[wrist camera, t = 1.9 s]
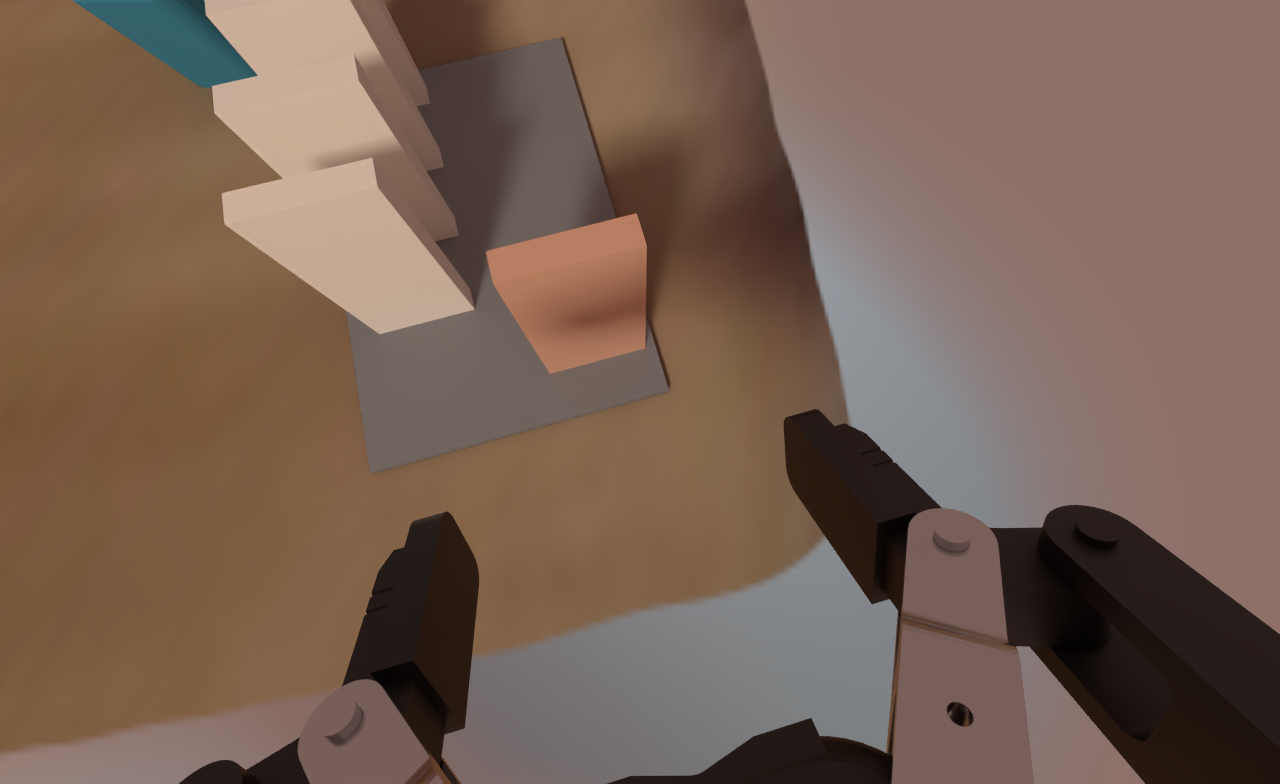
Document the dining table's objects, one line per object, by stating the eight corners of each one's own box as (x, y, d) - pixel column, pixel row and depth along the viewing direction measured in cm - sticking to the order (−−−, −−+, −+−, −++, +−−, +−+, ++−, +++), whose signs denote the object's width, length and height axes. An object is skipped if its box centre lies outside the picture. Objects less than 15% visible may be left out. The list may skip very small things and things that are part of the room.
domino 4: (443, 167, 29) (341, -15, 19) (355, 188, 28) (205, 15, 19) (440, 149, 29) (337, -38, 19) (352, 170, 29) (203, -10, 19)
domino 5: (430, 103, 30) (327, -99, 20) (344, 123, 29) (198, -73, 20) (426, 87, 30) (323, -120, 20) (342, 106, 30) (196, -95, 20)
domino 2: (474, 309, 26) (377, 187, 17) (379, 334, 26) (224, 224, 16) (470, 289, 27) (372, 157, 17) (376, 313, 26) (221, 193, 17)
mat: (668, 391, 26) (669, 389, 25) (374, 472, 25) (370, 472, 24) (562, 43, 31) (561, 37, 31) (318, 99, 30) (313, 94, 30)
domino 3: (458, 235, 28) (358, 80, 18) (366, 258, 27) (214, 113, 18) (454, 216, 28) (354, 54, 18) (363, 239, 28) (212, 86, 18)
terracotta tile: (645, 348, 26) (646, 244, 16) (549, 374, 26) (493, 284, 16) (639, 327, 26) (636, 213, 16) (544, 352, 26) (485, 251, 16)
